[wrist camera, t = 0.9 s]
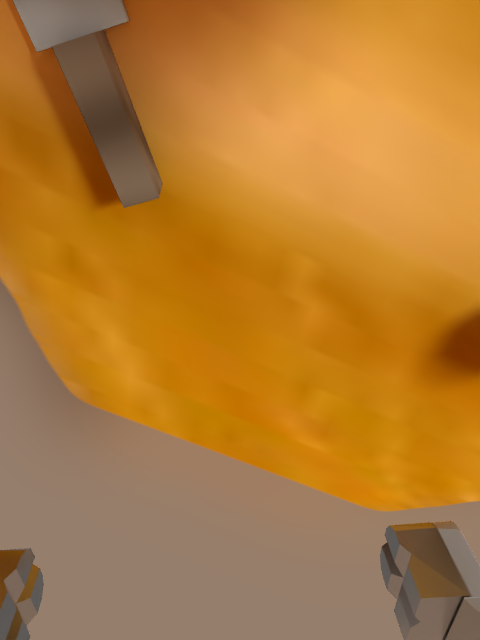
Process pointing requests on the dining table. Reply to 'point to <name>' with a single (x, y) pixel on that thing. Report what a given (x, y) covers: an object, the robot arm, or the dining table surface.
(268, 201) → the dining table surface
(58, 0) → the turner
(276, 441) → the dining table surface
